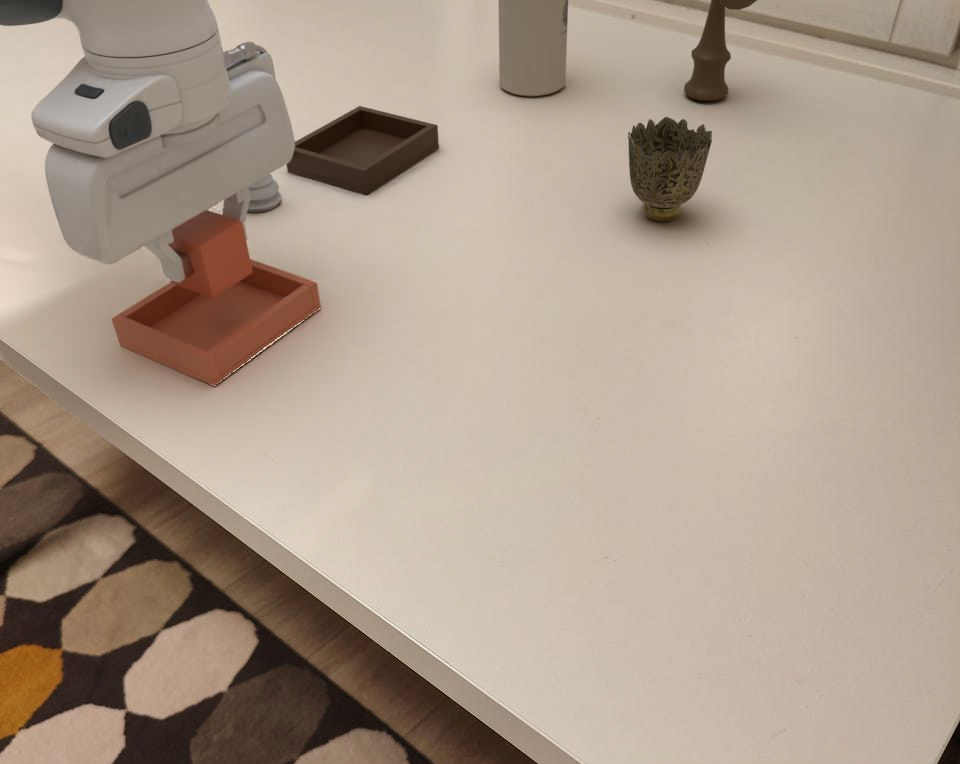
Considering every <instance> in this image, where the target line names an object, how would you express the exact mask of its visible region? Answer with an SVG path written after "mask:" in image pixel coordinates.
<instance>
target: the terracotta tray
mask: <svg viewBox="0 0 960 764" xmlns="http://www.w3.org/2000/svg"><path fill="white" fill-rule="evenodd" d="M250 261H251V265H252V270H253V273H252V274H250V275H249V276H247V277H246V278H244V279H243V280H241V281H240V282H238V283H237V284H235V285H233V286H232V287H230V288H229V289H227V290H226V291H224V292H223V293H221V294H220V295H218V296H217V297H215V298H214V299H212V298H210V297H207V296H204V295H202V294H199V293H197V292H194V291H191V290H189V289H186V288H183V287H181V286H178V285H175V284H173V283H172V281H170V282H168V283H167V284H165V285H164V286H162V287H160V288H158V289H157V290H156V291H154V292H152V293H151V294H148V296H146V297H144V298H142V299H141V300H139V301H138V302H136V303H135V304H133V305H131V306H129V307H128V308H126V309H125V310H123V311H121V312H120V313H118V314H117V315H115V316H113V317H112V318H111V319H110V320H111V322H112V325H113V328H114V331H115V334H116V338H117V340H118V343H119V346H120V347H122V348H125V349H127V350H129V351H132V352H134V353H136V354H138V355H141V356H143V357H145V358H147V359H150V360H152V361H154V362H156V363H159V364H162V365H163V366H166V367H168V368H171V369H173V370H175V371H177V372H179V371H180V373H181V374H184V375H186V376H189V377H191V378H193V377H194V378H193V379H195V378H197V379H196V380H198V379H199V380H198V381H200V380H202V381H204V382H203V383H205V382H207V383H209V384H212V385H213V386H212V387H214V385H217V383H219V382H220V381H221V380H223V379H224V378H225V377H226V376H228V375H229V374H230V373H232V372H233V371H234V370H236V369H237V368H239V367H240V366H241V365H242V364H244V363H246V362H247V361H248V360H249V359H251V357H253V356H254V355H256V354H257V353H258V352H259V351H261V350H263V348H264V347H266V346H267V345H269V344H270V343H272V342H273V341H275V339H277V338H278V337H280V336H281V335H283V334H284V333H285V332H287V331H288V330H290V329H291V328H293V327H294V326H295V325H297V324H298V323H300V322H301V321H303V320H305V319H306V318H307V317H309V315H311V314H313V313H314V312H315V311H317V310H318V309H319V308H321V309H322V305H321V300H320V293H319V288H318V283H317V281H314V280H311V279H309V278H305V277H303V276H300V275H297V274H294V273H291V272H289V271H286V270H283V269H280V268H277V267H274V266H272V265H268V264H265V263H263V262H260V261H257V260H255V259H252V258H250ZM202 381H201V382H202ZM207 383H206V384H207ZM209 384H208V385H209ZM217 386H218V385H217Z"/></svg>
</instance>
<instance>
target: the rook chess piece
mask: <svg viewBox="0 0 960 764" xmlns="http://www.w3.org/2000/svg"><path fill="white" fill-rule="evenodd" d="M249 190H250V195H251V198H250V203H249V207H248V211H247V212H249V213H262V212H263V213H264V212H267V211H270V210H272V209H274V208H276V207H277V206H278V205H279V203H280V202H281V199H282V194H281V192H279V190H280V186H279V184H278V182H277V181H276V179H274V177H273V175H272V173H270V174H268V175H267V176H265V177H263V178H261V179H260V180H258V181H256V182H254V183H253V184H251V185H249Z"/></svg>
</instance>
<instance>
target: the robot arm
mask: <svg viewBox="0 0 960 764" xmlns="http://www.w3.org/2000/svg"><path fill="white" fill-rule="evenodd" d="M215 15H216V14H214V11H213V9H212V7H211V5H210V3H209V0H0V26H3V27H5V26H6V27H16V26H18V27H19V26H28V25H34V24H35V25H36V24H41V23H44V22H49V21H50V20H58V19H59V20H61V19H62V20H66V21H68V22H70V23H72V24H73V25H74V26H75V28H76V30H77V32H78V37H79V39H80V40H79V41H80V45H81V48H82V51H83V54H84V57H82V58H81V59H80V60H79V61H77V63H76V64H75V66H73V68H72V69H71V70H70V71H69V72H68V74H66V76H65V77H64V78H63V79H62V80H60V82H59V83H58V84H57V85H56V86H54V88H53V89H51V91H50V92H48V93H47V94H46V95H45V96H44V97H43V98H42V99H41V100H40V101H38V103H37V104H36V105H35V106H34V107H33V108H32V111H31V113H30V114H31V115H30V117H31V122H32V125H33V128H34V130H35V132H36V134H37V136H38V137H39V138H40V139H43V140H45V141H48V142H49V143H50V144H51V146H50V147H49V149H48V150H47V152H46V156H45V160H44V173H45V174H44V175H45V180H46V184H47V189H48V193H49V197H50V201H51V204H52V209H53V211H54V214H55V217H56V221H57V223H58V226H59V229H60V233H61V235H62V237H63V240H64V242H65V243H66V245H67V246H68V248H69V249H71V250H72V251H74V252H75V253H77V254H78V255H80V256H83V257H85V258H87V259H89V260H91V261H95V262H97V263H101V264H104V265H113V264H115V263H117V262H119V261H120V260H123V259H124V258H125V257H127V256H129V255H132V253H134V252H136V251H138V250H139V249H141V248H143V247H144V248H146V250H148V251H149V252H151V254H153V255H154V256H155V257H156V258H158V259H159V261H160V265H161V268H162V270H163V274H164V276H165V278H166V279H168V280H170V281H171V282H172V281H175V282H177V283H180V282H181V281H183V280H185V279H186V278H188V277H189V276H191V275H193V273H194V270H193V267H192V262H191V259H190V255H187V254H185V253H180V252H179V251H176V250H173V249H172V248H171V247H170V246H169V245H168V243H169V244H171V243H172V242H173V241H174V238H173V234H172V230H173V229H174V228H176V227H178V226H180V225H181V224H183V223H185V222H187V221H188V220H190V219H192V218H194V217H195V216H197V215H199V214H200V213H202V212H204V211H206V210H209V209H211V208H213V207H214V206H216V205H218V204H220V203H221V202H223V206H222V214H221V215H224V216H227V217H230V218H233V219H236V220H239V221H242V224H243V229H244V233H245V238H246V242H247V241H248V234H247V229H246V224H245V222H246V219H247V215H248V212H249V211H248V207H249V203H250V198H251V195H250V190H249V185H251V184H253V183H254V182H256V181H258V180H260V179H261V178H263V177H265V176H267V175H268V174H272V173H273V172H274V173H275V171H277V170H279V169H280V168H282V167H284V166H285V165H286V164H288V163H289V162H290V161H291V159H292V156H293V153H294V149H295V141H296V140H295V135H294V131H293V126H292V123H291V118H290V115H289V111H288V108H287V103H286V101H285V98H284V95H283V93H282V89H281V87H280V85H279V83H278V81H277V79H276V73H275V67H274V60H273V58H272V55H271V54H270V53H269V52H268V51H267V49H266V48H264V46H261V45H259V44H255V43H254V42H253V41H246V42H242V43H240V44H238V45H237V46H236V47H234V48H232V49H230V50H225V51H224V50H223V44H222V39H221V35H220V31H219V25H218V21H217V18H216V16H215ZM286 166H287V165H286Z"/></svg>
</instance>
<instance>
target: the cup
mask: <svg viewBox="0 0 960 764" xmlns="http://www.w3.org/2000/svg"><path fill="white" fill-rule="evenodd" d="M646 124H647V125H646V126H645V125H644V123H642V122H638V123H637V125H635V124H633V125H632V128H631V132H630V131H628V132H627V134H628V136H627V139H628V168H629V169H628V170H629V180H630V185H631V188H632V191H633V193H634V194H635V196H636V197H637V199H638V200H639V201H640V202H643V203H642V205H641V209H642V212H643V215H644V216H645V217H646V218H647V219H649V220H652V221H653V222H661V223H665V222H670V221H673V220H675V219H677V218H678V217H679V215H680V213H681V212H682V209H683V207H682V205H684V204H686V203H687V202H689V201H690V200H691V199H692V198H693V196H694V195H695V194H696V192H697V191H698V189H699V186H700V185H701V181H702V178H703V175H704V172H705V169H706V164H707V160H708V156H709V152H710V150H711V145H712V142H713V139H712V138H713V131H712V130H707V129H706V126H705V124H704V123H702V124H700V125H699V126H698V127H697V129H696V130H694V128H691V129H689V127H688V120H686V119H685V118H682V119H681V120H679V121H678V122H677V121H676V120H675V119H673V118H671V117H668V116H664V117H663V118H662V119H661V120H660V121H659V122H658V123H656V122H655V120H653V119H652V118H649V119H648V120H647V123H646Z"/></svg>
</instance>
